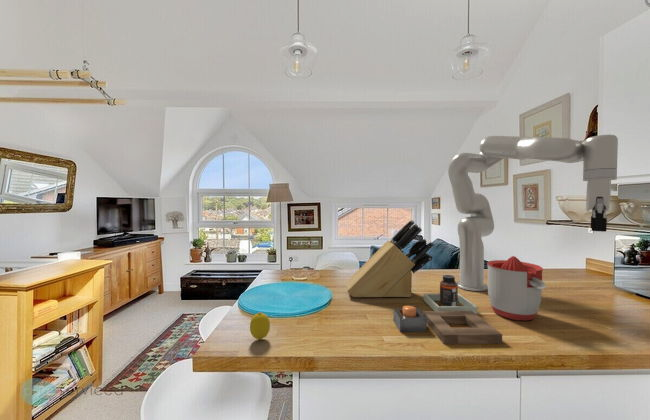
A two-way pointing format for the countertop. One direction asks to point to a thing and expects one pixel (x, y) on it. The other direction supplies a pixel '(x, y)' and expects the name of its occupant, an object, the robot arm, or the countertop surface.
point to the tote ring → (436, 297)
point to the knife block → (391, 267)
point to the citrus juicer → (515, 288)
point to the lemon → (259, 326)
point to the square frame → (474, 335)
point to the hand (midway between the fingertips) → (598, 229)
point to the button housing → (410, 321)
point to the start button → (409, 311)
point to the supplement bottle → (448, 291)
